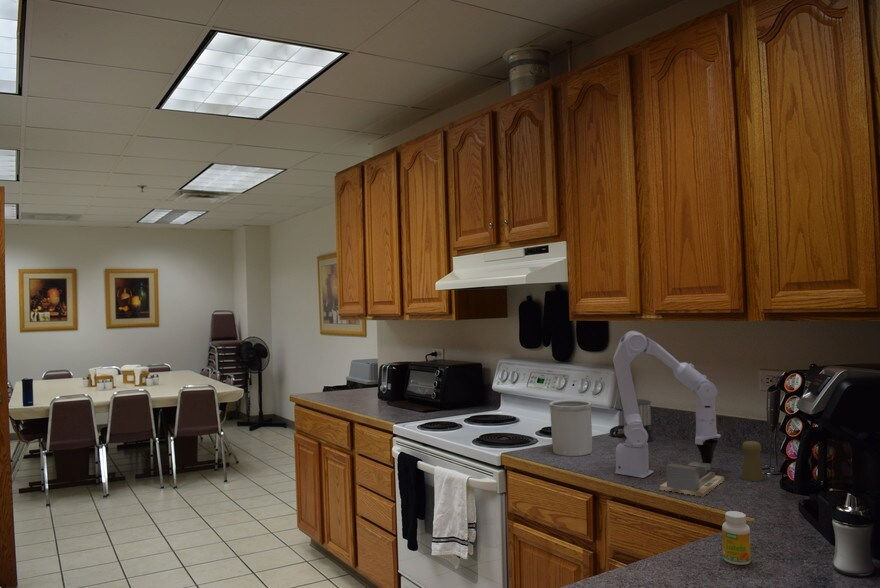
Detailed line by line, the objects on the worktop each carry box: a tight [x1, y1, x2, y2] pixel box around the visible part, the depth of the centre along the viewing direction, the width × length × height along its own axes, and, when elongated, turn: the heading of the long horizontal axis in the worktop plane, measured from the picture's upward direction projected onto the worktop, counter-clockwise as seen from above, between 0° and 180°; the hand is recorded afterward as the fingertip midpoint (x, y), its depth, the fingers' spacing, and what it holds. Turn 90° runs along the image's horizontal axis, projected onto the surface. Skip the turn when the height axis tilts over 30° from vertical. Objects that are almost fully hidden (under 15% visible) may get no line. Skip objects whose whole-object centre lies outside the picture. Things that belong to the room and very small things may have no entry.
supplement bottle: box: [721, 510, 752, 566], centre depth 138 cm, size 5×5×10 cm
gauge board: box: [659, 472, 725, 498], centre depth 191 cm, size 12×19×3 cm, turn 140°
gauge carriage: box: [686, 460, 718, 479], centre depth 194 cm, size 8×5×4 cm, turn 50°
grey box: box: [665, 463, 699, 492], centre depth 184 cm, size 8×3×6 cm, turn 50°
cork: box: [741, 440, 765, 482], centre depth 196 cm, size 6×6×11 cm
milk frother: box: [609, 398, 653, 443], centre depth 252 cm, size 14×16×15 cm
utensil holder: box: [548, 398, 593, 457], centre depth 234 cm, size 15×15×18 cm
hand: (707, 463), depth 201 cm, fingers closed
